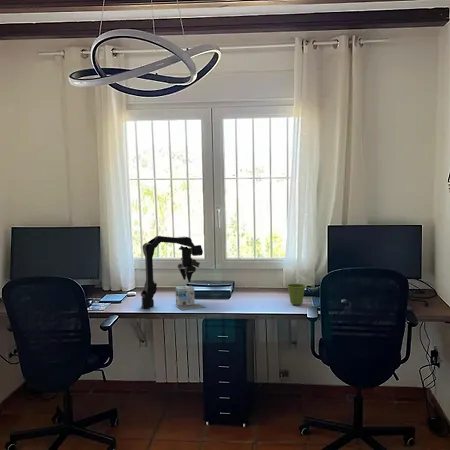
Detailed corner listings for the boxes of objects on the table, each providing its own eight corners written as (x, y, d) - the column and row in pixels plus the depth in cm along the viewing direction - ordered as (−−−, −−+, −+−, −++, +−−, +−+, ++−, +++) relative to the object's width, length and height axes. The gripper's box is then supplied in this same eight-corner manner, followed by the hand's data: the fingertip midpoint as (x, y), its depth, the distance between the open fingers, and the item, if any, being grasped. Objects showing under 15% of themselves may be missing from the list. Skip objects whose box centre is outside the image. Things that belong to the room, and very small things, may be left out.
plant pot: (290, 306, 313) (290, 287, 313) (284, 302, 325) (284, 284, 324) (309, 304, 316) (308, 286, 315) (302, 300, 327) (302, 283, 326)
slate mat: (182, 310, 309) (182, 310, 309) (176, 306, 319) (176, 306, 319) (205, 307, 315) (205, 307, 315) (199, 304, 325) (199, 303, 325)
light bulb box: (178, 306, 321) (178, 288, 320) (175, 304, 327) (175, 287, 326) (195, 304, 325) (194, 287, 324) (191, 302, 331) (191, 285, 330)
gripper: (203, 257, 326) (203, 281, 327) (193, 254, 343) (193, 277, 344) (186, 258, 321) (187, 283, 322) (177, 255, 338) (177, 278, 339)
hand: (186, 280), depth 332 cm, fingers open, 9 cm apart
